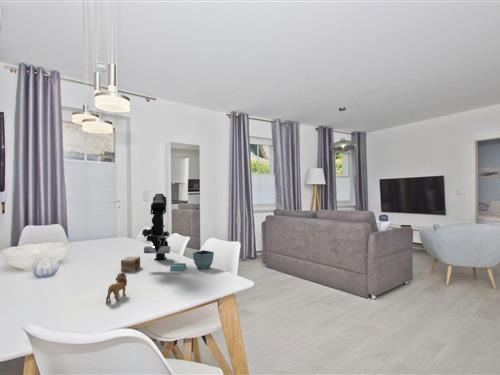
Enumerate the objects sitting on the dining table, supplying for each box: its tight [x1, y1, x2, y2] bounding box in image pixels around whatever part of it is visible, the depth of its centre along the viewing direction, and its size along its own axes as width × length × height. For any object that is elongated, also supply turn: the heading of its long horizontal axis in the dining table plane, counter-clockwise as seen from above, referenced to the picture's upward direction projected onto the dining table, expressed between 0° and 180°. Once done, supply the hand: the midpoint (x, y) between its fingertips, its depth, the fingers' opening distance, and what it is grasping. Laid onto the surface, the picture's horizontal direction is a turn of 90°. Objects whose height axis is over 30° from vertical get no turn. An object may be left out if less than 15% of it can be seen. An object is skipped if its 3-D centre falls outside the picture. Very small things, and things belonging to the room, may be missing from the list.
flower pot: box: [192, 249, 215, 270], centre depth 165 cm, size 9×9×9 cm
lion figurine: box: [105, 272, 128, 305], centre depth 119 cm, size 15×5×9 cm, turn 6°
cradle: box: [169, 262, 187, 272], centre depth 163 cm, size 8×7×2 cm
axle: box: [143, 245, 171, 254], centre depth 164 cm, size 4×14×4 cm, turn 87°
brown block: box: [120, 256, 141, 272], centre depth 165 cm, size 9×7×6 cm
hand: (158, 251), depth 164 cm, fingers closed on axle, 4 cm apart
